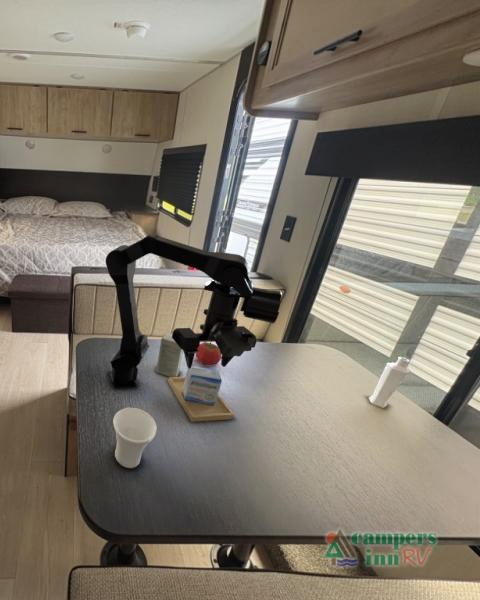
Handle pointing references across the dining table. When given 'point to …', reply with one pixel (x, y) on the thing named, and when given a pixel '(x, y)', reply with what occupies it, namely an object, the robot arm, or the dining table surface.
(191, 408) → the holder
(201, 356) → the tomato
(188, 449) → the dining table surface
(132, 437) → the cup
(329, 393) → the dining table surface
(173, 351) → the cosmetic box
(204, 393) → the medicine box
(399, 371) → the perfume bottle
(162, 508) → the dining table surface
